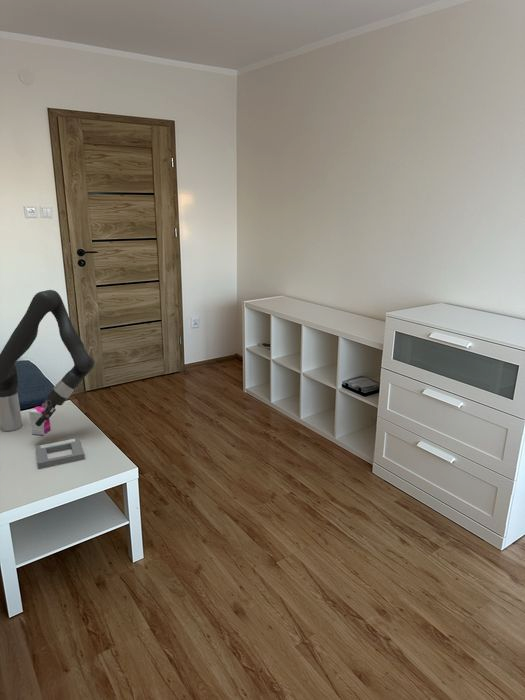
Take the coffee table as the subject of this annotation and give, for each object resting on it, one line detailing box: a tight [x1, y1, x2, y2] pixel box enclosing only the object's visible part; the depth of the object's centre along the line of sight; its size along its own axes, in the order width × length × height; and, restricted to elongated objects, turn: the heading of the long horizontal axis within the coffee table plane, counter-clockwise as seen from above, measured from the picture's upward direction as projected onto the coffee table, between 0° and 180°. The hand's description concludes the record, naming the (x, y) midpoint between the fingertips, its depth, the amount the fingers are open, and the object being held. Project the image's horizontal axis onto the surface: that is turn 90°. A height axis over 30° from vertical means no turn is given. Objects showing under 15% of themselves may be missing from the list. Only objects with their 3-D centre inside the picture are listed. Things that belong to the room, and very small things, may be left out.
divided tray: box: [35, 437, 86, 470], centre depth 211 cm, size 16×18×3 cm
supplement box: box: [28, 406, 52, 437], centre depth 219 cm, size 6×6×12 cm
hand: (36, 421), depth 218 cm, fingers closed on supplement box, 8 cm apart
